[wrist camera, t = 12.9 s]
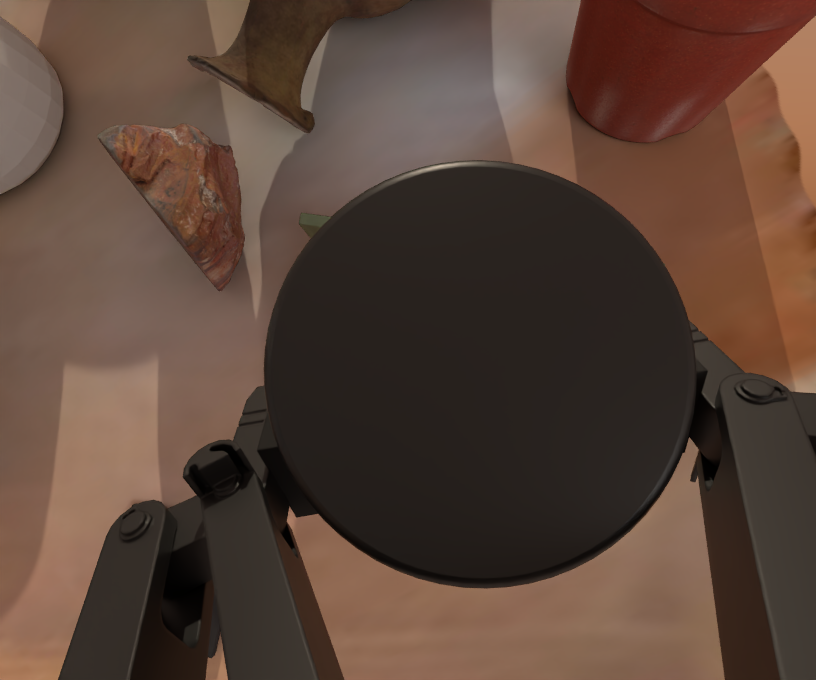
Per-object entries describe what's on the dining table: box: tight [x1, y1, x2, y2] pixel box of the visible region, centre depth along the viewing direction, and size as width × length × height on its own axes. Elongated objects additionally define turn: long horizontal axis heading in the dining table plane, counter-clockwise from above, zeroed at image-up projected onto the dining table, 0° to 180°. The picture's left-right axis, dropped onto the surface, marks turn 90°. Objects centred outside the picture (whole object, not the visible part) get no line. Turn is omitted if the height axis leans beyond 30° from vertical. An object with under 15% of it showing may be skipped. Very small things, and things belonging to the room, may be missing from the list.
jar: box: [264, 160, 697, 588], centre depth 14 cm, size 9×8×12 cm
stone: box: [98, 124, 245, 291], centre depth 32 cm, size 13×8×10 cm
